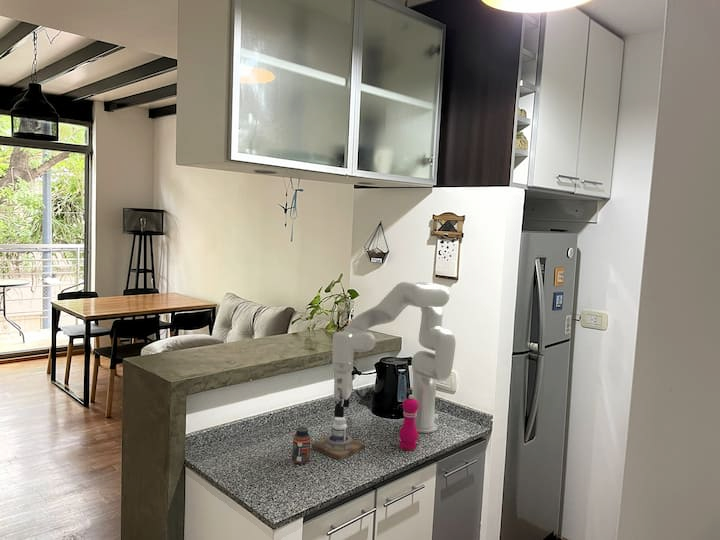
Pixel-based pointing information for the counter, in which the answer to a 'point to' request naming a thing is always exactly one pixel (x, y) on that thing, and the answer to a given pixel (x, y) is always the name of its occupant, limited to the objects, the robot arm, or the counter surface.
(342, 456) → the hub board
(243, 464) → the counter surface
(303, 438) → the supplement bottle
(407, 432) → the pepper mill
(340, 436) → the pill bottle
